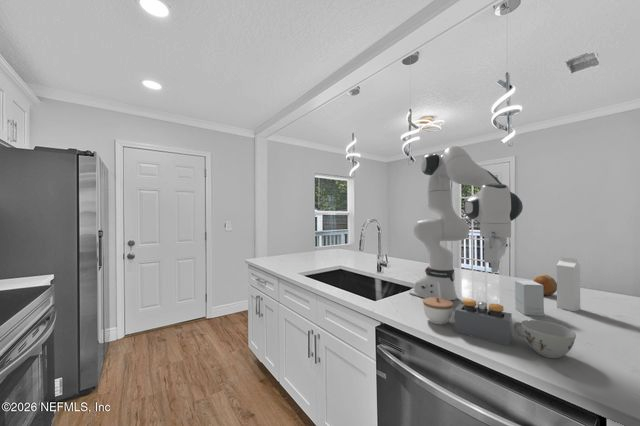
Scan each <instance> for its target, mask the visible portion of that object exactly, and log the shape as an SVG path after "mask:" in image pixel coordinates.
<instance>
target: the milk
mask: <svg viewBox="0 0 640 426" xmlns="http://www.w3.org/2000/svg"><path fill="white" fill-rule="evenodd" d="M556 283H557V291H556V307H557V308H558V309H562V310H566V311H570V312H577V311H579V310H581V265H580V264H579V263H578V259H577V258H571V257H563V256H560V257H559V261H558V262H557V263H556Z"/></svg>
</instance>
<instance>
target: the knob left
mask: <svg viewBox="0 0 640 426" xmlns="http://www.w3.org/2000/svg"><path fill="white" fill-rule="evenodd" d="M462 304H464V308H465V310H466V311H471V312H475V307H477V301H476V300H474V299H470V298H469V299H468V298H464V299H462Z"/></svg>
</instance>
